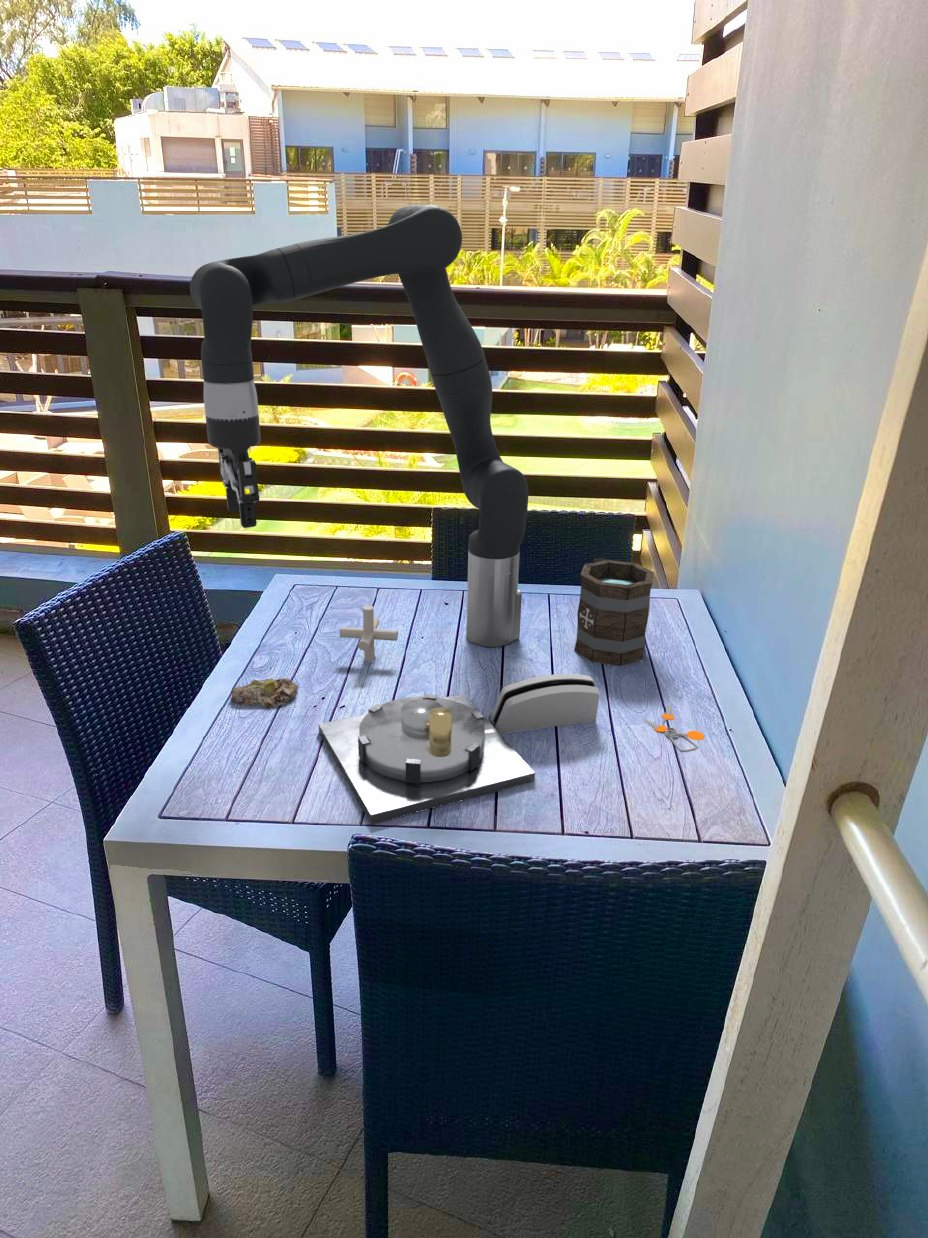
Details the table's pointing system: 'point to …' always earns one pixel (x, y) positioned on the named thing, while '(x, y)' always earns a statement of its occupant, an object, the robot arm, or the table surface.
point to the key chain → (661, 728)
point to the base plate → (400, 798)
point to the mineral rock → (265, 692)
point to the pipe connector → (368, 633)
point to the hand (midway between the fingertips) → (242, 518)
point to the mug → (613, 612)
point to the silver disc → (421, 739)
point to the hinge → (546, 703)
